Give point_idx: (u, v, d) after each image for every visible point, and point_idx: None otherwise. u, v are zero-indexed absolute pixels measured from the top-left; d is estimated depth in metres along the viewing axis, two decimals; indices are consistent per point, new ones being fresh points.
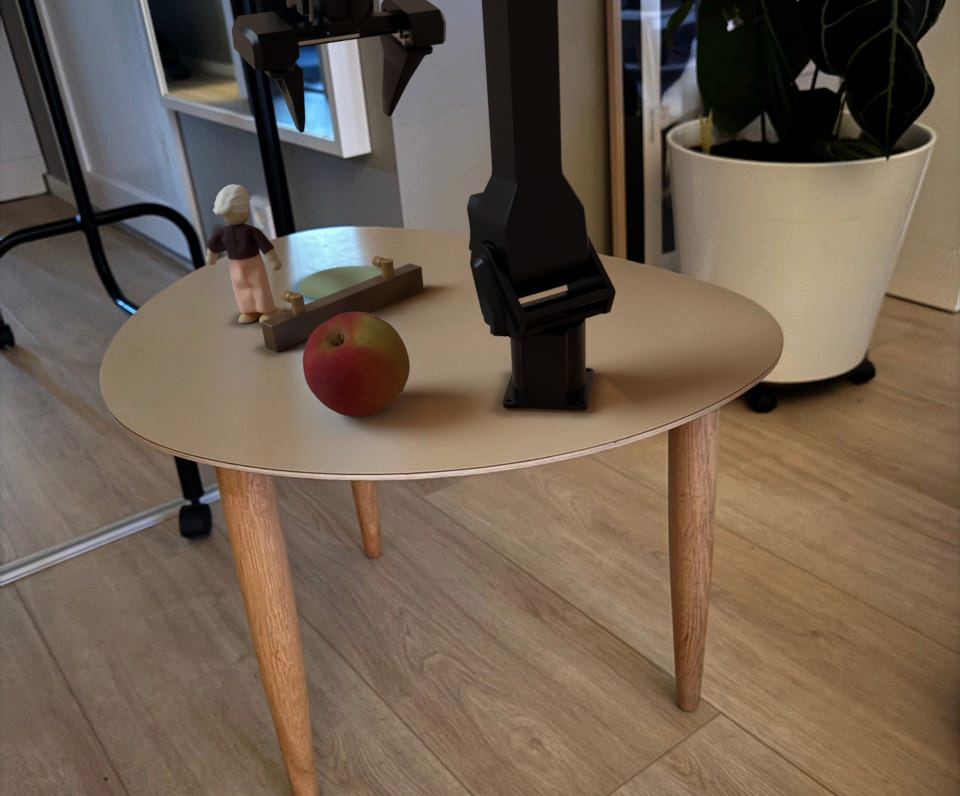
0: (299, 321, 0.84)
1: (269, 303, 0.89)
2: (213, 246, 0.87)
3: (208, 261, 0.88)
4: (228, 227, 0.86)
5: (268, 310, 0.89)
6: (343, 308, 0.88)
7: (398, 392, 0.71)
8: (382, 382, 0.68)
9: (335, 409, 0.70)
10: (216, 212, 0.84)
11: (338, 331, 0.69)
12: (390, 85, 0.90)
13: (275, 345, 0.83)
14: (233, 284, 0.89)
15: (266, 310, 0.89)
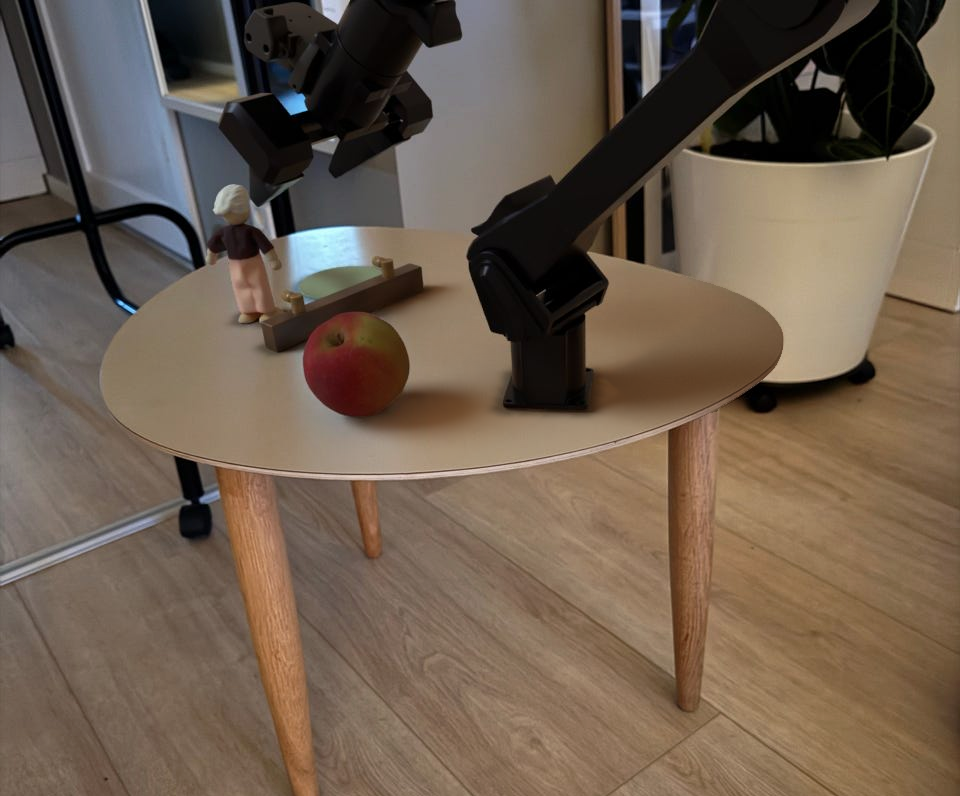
0: (299, 321, 0.84)
1: (269, 303, 0.89)
2: (213, 246, 0.87)
3: (208, 261, 0.88)
4: (228, 227, 0.86)
5: (268, 310, 0.89)
6: (343, 308, 0.88)
7: (398, 392, 0.71)
8: (382, 382, 0.68)
9: (335, 409, 0.70)
10: (216, 212, 0.84)
11: (338, 331, 0.69)
12: (351, 155, 0.81)
13: (275, 345, 0.83)
14: (233, 284, 0.89)
15: (266, 310, 0.89)
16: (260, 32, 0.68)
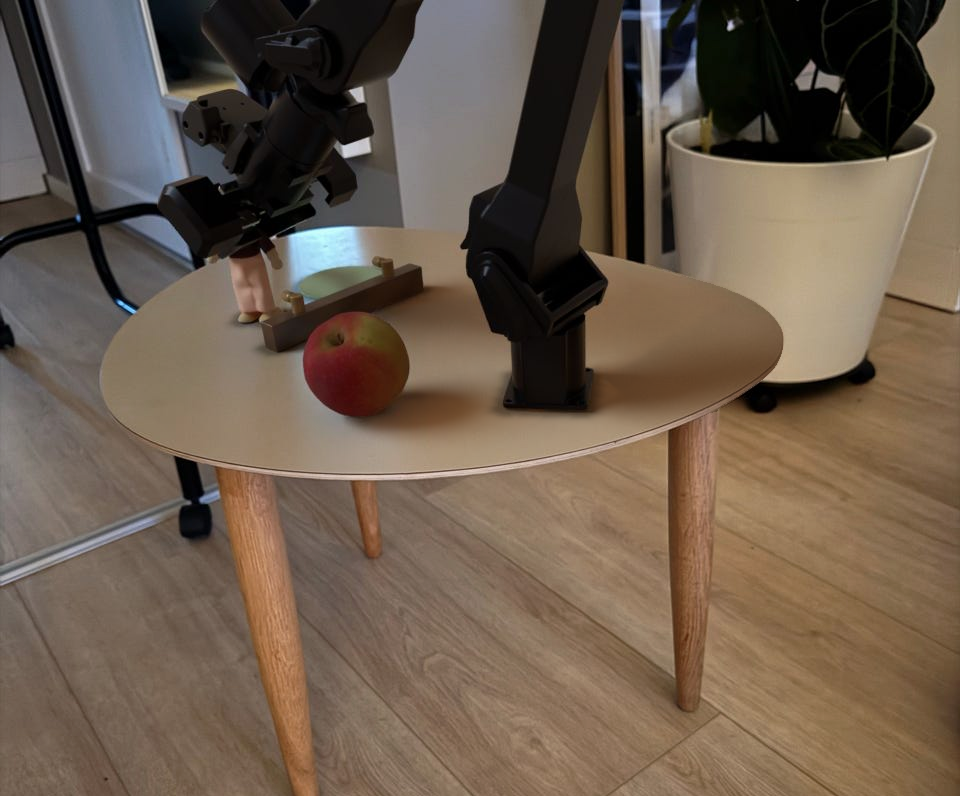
0: (299, 321, 0.84)
1: (269, 302, 0.89)
2: None
3: (209, 260, 0.88)
4: None
5: (268, 309, 0.89)
6: (343, 308, 0.88)
7: (398, 392, 0.71)
8: (382, 382, 0.68)
9: (335, 409, 0.70)
10: None
11: (338, 331, 0.69)
12: None
13: (275, 345, 0.83)
14: (233, 283, 0.89)
15: (266, 309, 0.89)
16: (195, 121, 0.76)
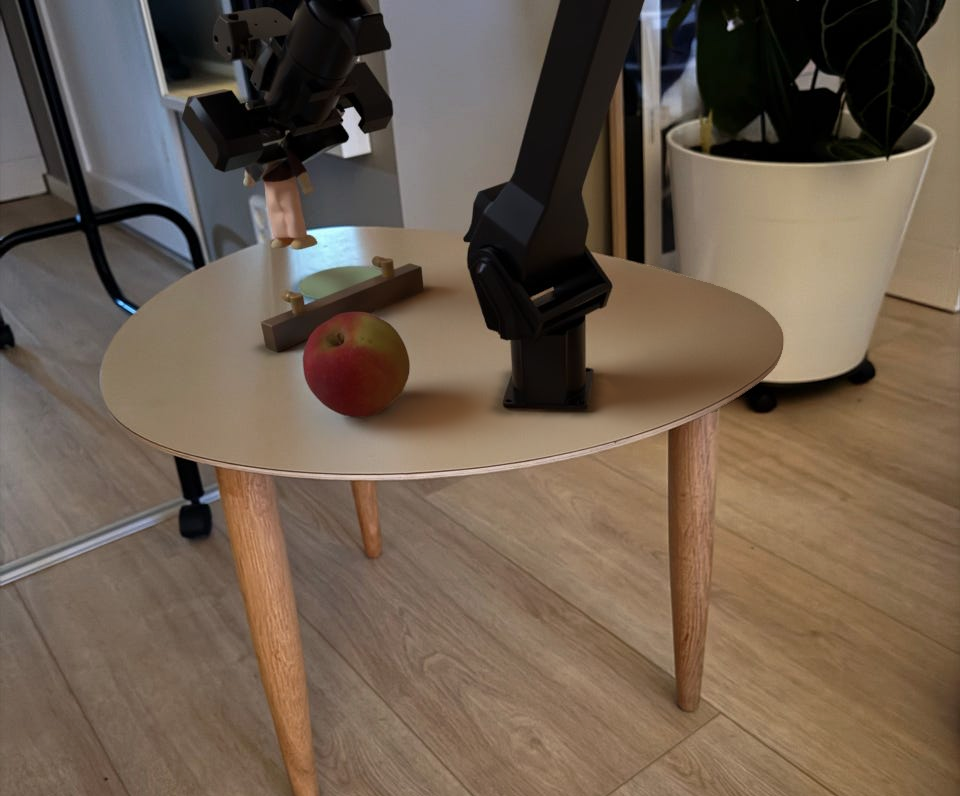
0: (299, 321, 0.84)
1: (300, 229, 0.89)
2: None
3: (245, 183, 0.89)
4: None
5: (299, 236, 0.89)
6: (343, 308, 0.88)
7: (398, 392, 0.71)
8: (382, 382, 0.68)
9: (335, 409, 0.70)
10: None
11: (338, 331, 0.69)
12: None
13: (275, 345, 0.83)
14: (268, 208, 0.89)
15: (297, 235, 0.89)
16: (224, 35, 0.77)
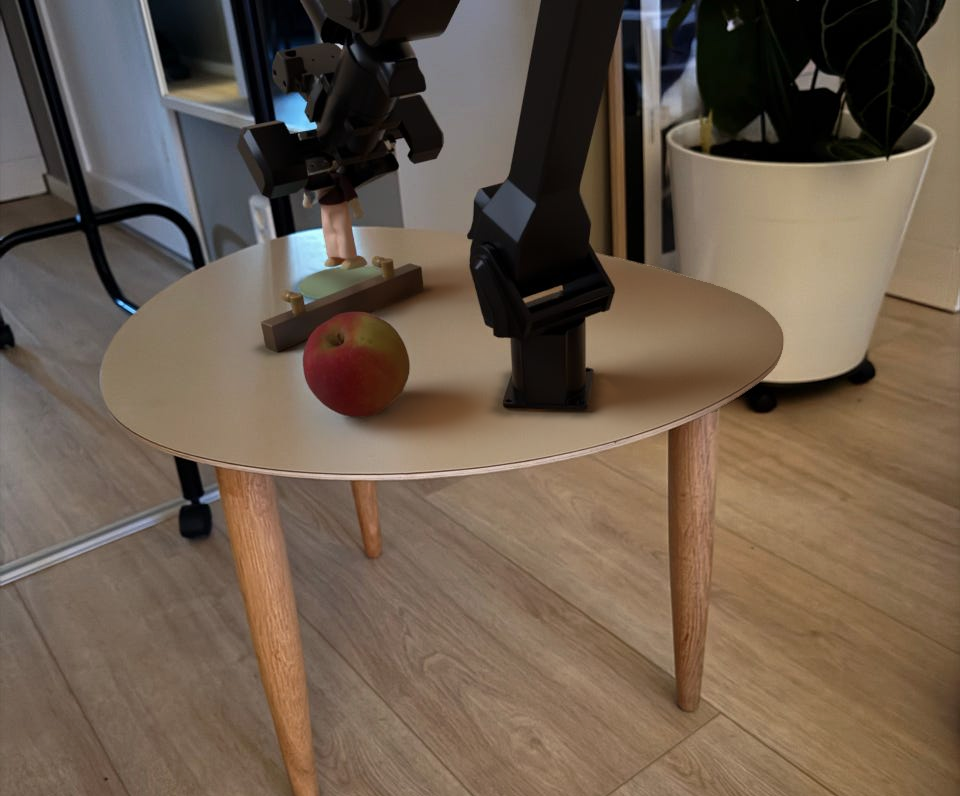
0: (299, 321, 0.84)
1: (350, 250, 0.93)
2: None
3: (304, 204, 0.94)
4: None
5: (348, 257, 0.94)
6: (343, 308, 0.88)
7: (398, 392, 0.71)
8: (382, 382, 0.68)
9: (335, 409, 0.70)
10: None
11: (338, 331, 0.69)
12: None
13: (275, 345, 0.83)
14: (323, 229, 0.94)
15: (346, 256, 0.94)
16: (280, 70, 0.82)
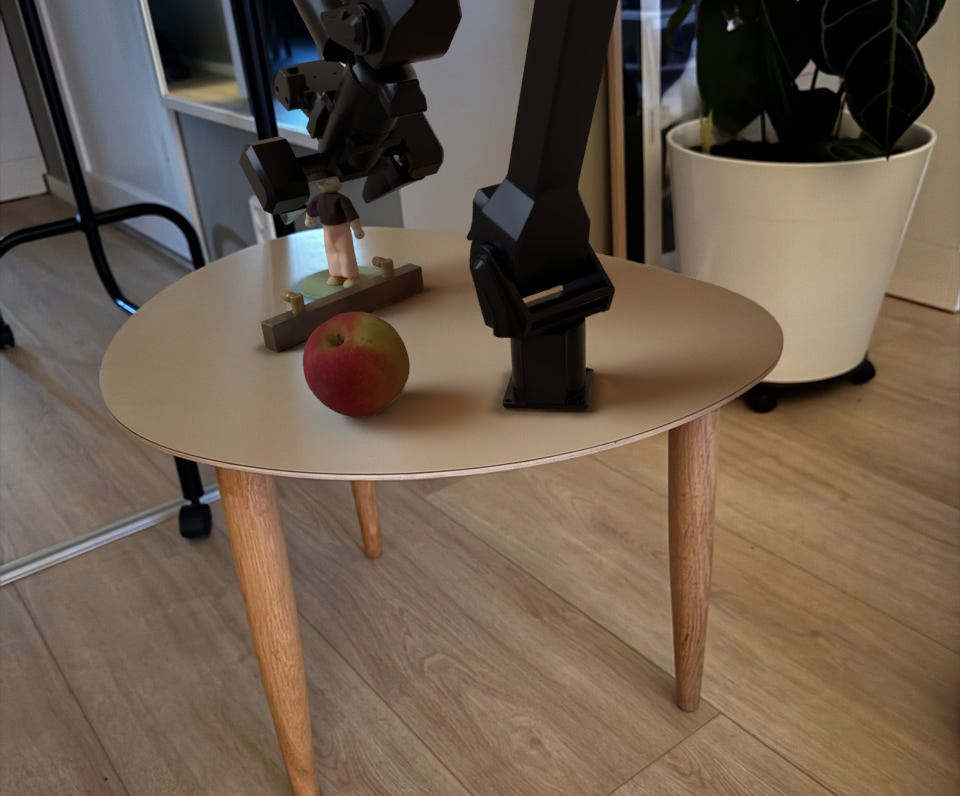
0: (299, 321, 0.84)
1: (352, 269, 0.94)
2: (310, 210, 0.94)
3: (306, 224, 0.95)
4: (322, 194, 0.92)
5: (351, 276, 0.95)
6: (343, 308, 0.88)
7: (398, 392, 0.71)
8: (382, 382, 0.68)
9: (335, 409, 0.70)
10: None
11: (338, 331, 0.69)
12: (376, 186, 0.94)
13: (275, 345, 0.83)
14: (325, 248, 0.95)
15: (349, 275, 0.95)
16: (283, 87, 0.83)
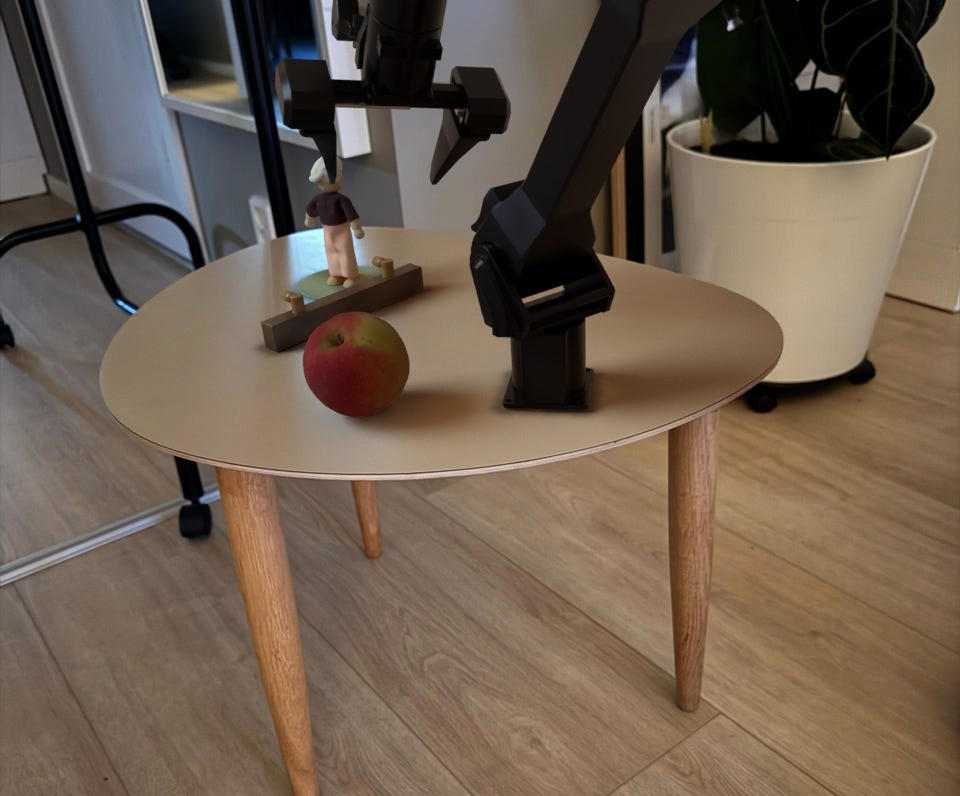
0: (299, 321, 0.84)
1: (352, 269, 0.94)
2: (310, 210, 0.94)
3: (306, 224, 0.95)
4: (322, 194, 0.92)
5: (351, 276, 0.95)
6: (343, 308, 0.88)
7: (398, 392, 0.71)
8: (382, 382, 0.68)
9: (335, 409, 0.70)
10: (310, 179, 0.90)
11: (338, 331, 0.69)
12: (439, 157, 0.83)
13: (275, 345, 0.83)
14: (325, 248, 0.95)
15: (349, 275, 0.95)
16: (334, 13, 0.77)
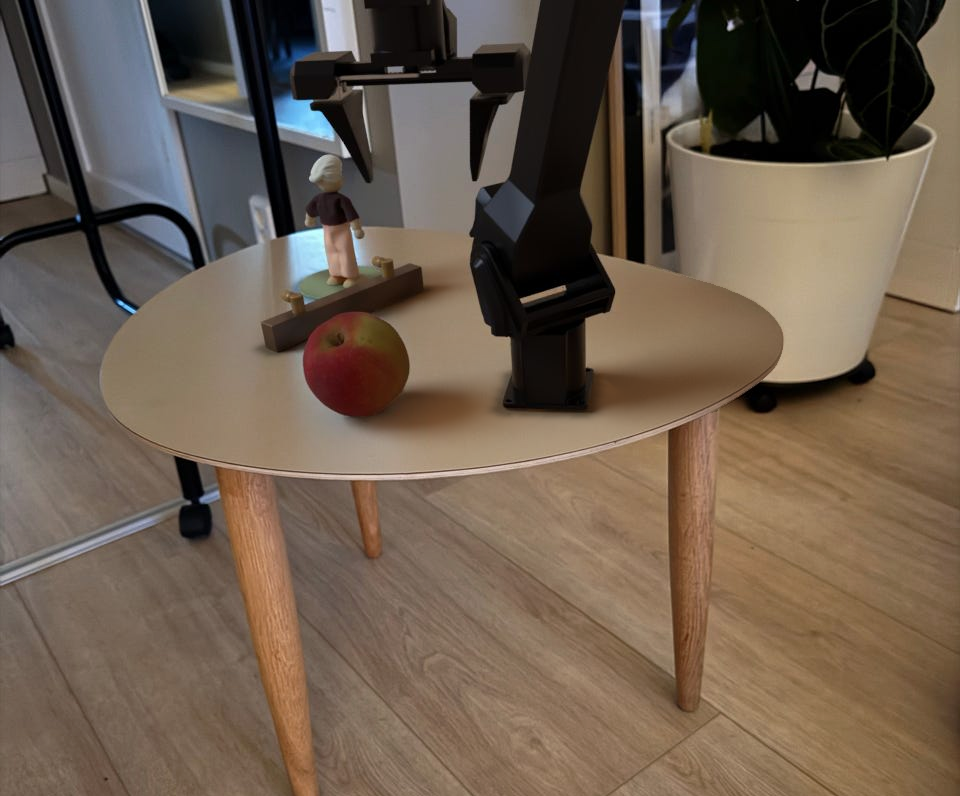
0: (299, 321, 0.84)
1: (352, 269, 0.94)
2: (310, 210, 0.94)
3: (306, 224, 0.95)
4: (322, 194, 0.92)
5: (351, 276, 0.95)
6: (343, 308, 0.88)
7: (398, 392, 0.71)
8: (382, 382, 0.68)
9: (335, 409, 0.70)
10: (310, 179, 0.90)
11: (338, 331, 0.69)
12: None
13: (275, 345, 0.83)
14: (325, 248, 0.95)
15: (349, 275, 0.95)
16: None
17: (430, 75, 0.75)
